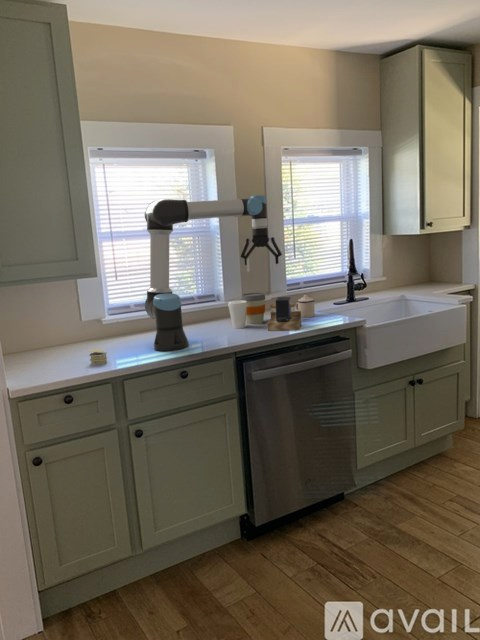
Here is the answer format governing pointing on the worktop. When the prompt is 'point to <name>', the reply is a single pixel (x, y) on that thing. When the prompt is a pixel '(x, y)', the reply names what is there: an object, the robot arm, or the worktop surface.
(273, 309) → the lidded bowl
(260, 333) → the worktop surface
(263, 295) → the reusable coffee cup
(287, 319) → the small box
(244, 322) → the foam cup
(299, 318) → the dock
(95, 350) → the stacked layers on plate
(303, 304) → the teacup with lid
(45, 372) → the worktop surface
